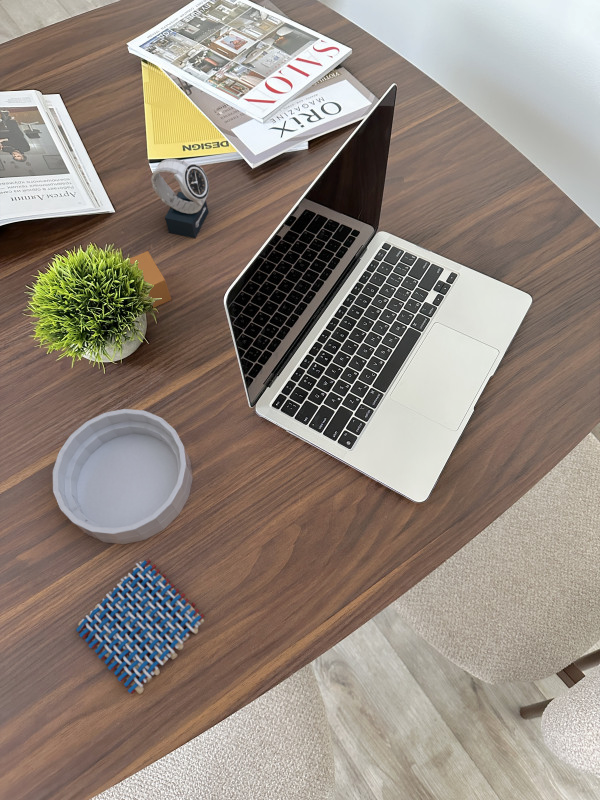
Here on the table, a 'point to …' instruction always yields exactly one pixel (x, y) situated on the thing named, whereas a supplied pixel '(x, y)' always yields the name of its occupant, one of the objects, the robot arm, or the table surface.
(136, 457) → the gray bowl
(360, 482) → the table surface
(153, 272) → the brown rectangular block
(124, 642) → the woven mat
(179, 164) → the watch
